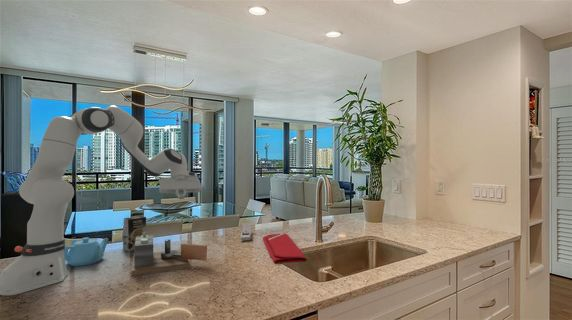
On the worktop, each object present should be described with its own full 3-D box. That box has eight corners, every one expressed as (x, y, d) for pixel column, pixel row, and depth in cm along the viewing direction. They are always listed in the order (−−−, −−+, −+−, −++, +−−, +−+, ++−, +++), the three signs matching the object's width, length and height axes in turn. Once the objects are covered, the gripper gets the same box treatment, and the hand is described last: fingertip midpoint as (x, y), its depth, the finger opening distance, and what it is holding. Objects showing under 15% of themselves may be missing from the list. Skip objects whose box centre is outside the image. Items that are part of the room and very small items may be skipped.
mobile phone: (251, 222, 193) (250, 231, 168) (251, 232, 193) (250, 242, 168) (241, 223, 192) (239, 232, 167) (241, 232, 192) (240, 242, 167)
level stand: (189, 267, 127) (189, 235, 127) (131, 275, 118) (131, 241, 118) (183, 253, 147) (183, 225, 147) (133, 259, 138) (133, 229, 138)
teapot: (72, 257, 139) (72, 234, 139) (108, 254, 144) (108, 232, 144) (58, 269, 125) (58, 243, 125) (99, 265, 129) (99, 240, 129)
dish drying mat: (273, 264, 133) (273, 256, 133) (262, 240, 173) (262, 234, 173) (307, 262, 136) (307, 254, 136) (288, 239, 176) (288, 233, 176)
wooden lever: (203, 262, 127) (203, 244, 127) (157, 258, 132) (157, 240, 132) (211, 257, 134) (211, 240, 134) (167, 253, 139) (167, 237, 139)
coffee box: (128, 251, 149) (128, 219, 149) (122, 249, 153) (122, 217, 153) (146, 247, 156) (146, 216, 156) (140, 245, 160) (140, 215, 160)
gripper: (158, 173, 151) (159, 194, 142) (199, 173, 160) (202, 193, 151) (158, 182, 155) (158, 203, 146) (198, 181, 164) (201, 201, 155)
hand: (181, 198), depth 149 cm, fingers closed
